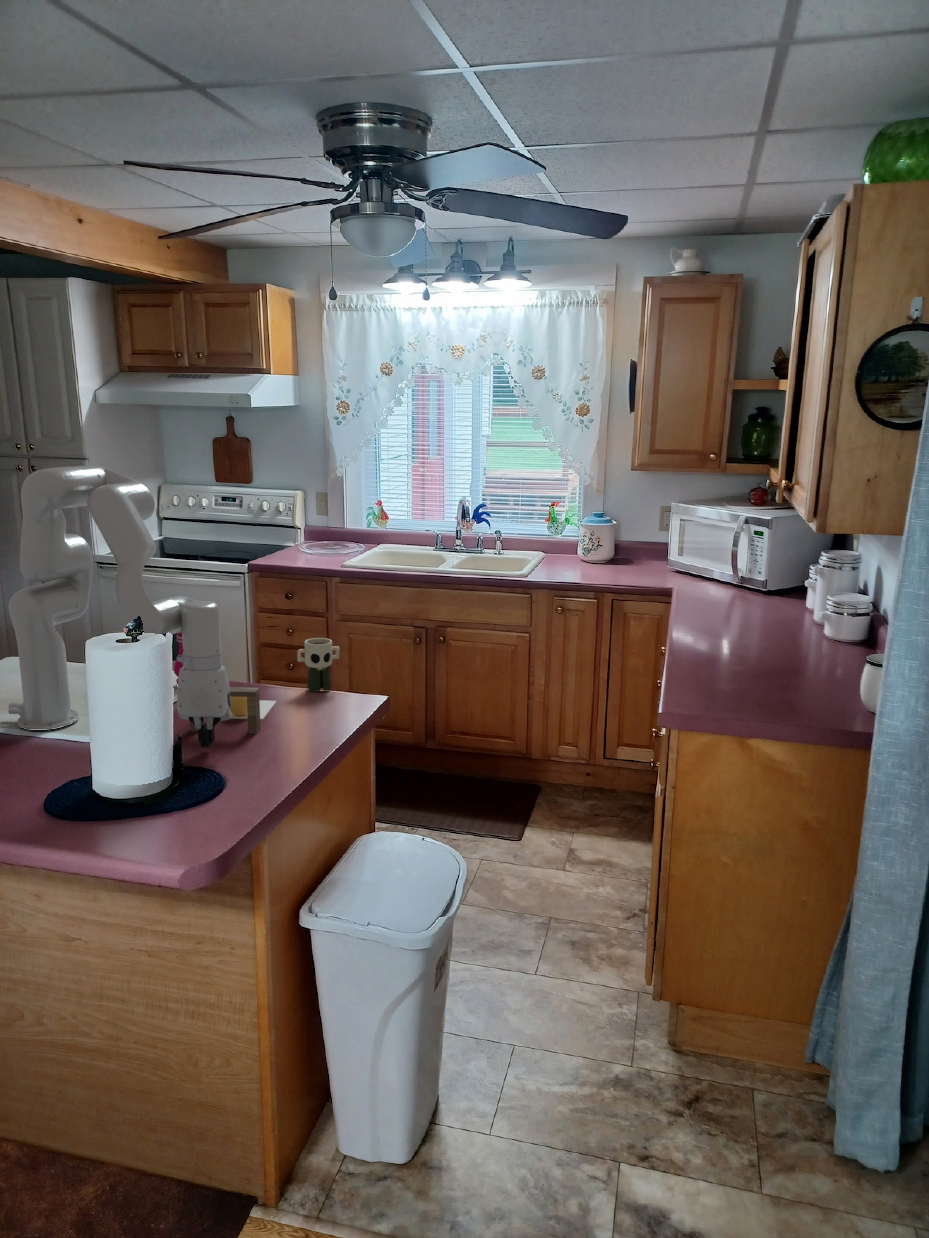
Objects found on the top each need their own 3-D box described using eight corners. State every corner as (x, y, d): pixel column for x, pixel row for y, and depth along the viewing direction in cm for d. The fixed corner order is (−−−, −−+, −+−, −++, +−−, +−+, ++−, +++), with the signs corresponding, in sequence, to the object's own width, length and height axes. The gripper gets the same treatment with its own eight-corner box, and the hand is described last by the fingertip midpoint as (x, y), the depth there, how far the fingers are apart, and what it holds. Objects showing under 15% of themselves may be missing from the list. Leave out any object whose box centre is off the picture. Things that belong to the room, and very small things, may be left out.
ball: (225, 687, 206) (234, 690, 212) (220, 712, 205) (230, 715, 211) (249, 690, 205) (258, 693, 211) (245, 715, 204) (254, 718, 210)
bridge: (257, 733, 197) (255, 692, 195) (190, 731, 197) (188, 689, 195) (260, 728, 200) (259, 687, 198) (195, 726, 200) (192, 685, 198)
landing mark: (207, 717, 206) (207, 716, 206) (224, 699, 219) (224, 699, 219) (263, 719, 206) (263, 718, 206) (276, 701, 218) (276, 700, 218)
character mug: (301, 695, 223) (300, 646, 220) (295, 687, 230) (294, 639, 227) (343, 691, 227) (342, 642, 224) (336, 683, 234) (335, 636, 231)
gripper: (160, 665, 178) (165, 750, 182) (233, 667, 178) (236, 753, 182) (173, 655, 185) (178, 737, 190) (243, 657, 185) (247, 739, 189)
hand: (206, 745), depth 186 cm, fingers closed
